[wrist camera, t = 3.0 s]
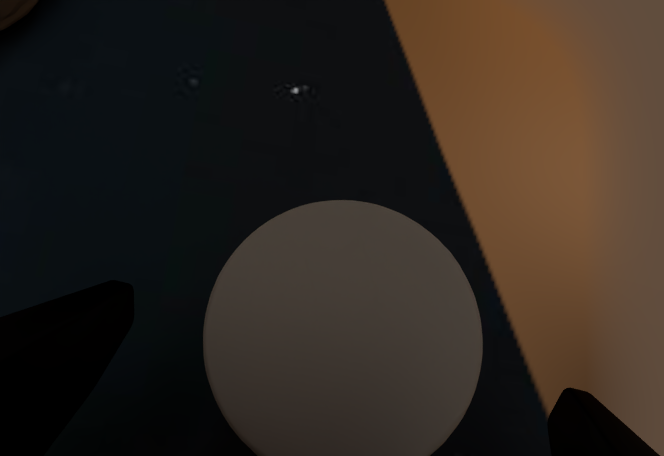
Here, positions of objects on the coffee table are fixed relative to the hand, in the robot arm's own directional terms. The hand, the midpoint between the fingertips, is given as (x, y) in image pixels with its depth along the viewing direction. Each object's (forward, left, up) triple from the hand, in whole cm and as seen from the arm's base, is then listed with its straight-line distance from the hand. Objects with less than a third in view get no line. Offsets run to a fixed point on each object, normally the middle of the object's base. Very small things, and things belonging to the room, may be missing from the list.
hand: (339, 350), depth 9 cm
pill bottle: (0, 0, -8) cm, 8 cm away
